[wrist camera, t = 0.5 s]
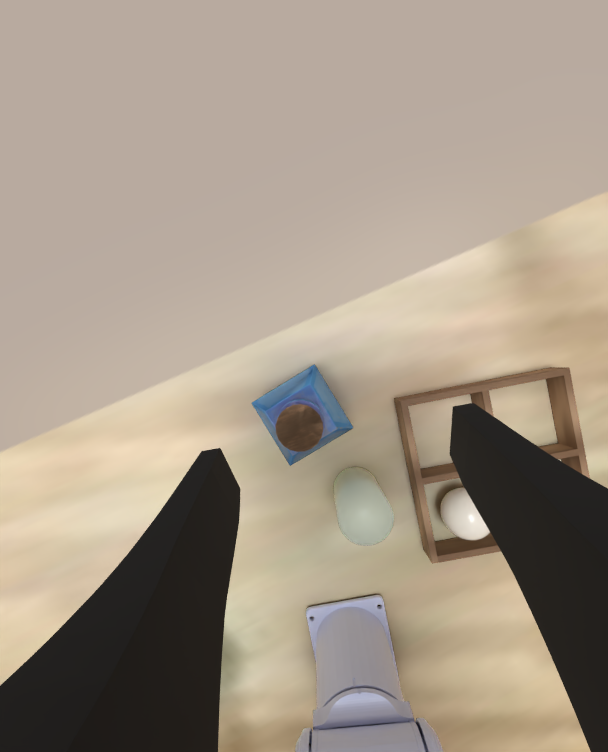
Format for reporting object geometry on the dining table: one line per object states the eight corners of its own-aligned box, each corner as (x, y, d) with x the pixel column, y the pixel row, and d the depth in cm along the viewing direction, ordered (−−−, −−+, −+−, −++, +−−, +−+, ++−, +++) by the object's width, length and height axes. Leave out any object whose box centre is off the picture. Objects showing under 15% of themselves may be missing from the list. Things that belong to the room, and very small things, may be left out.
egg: (482, 521, 33) (509, 545, 29) (437, 529, 33) (457, 555, 29) (474, 476, 33) (500, 494, 29) (429, 485, 33) (447, 504, 29)
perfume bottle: (314, 365, 33) (315, 363, 21) (345, 416, 33) (364, 444, 21) (262, 396, 34) (235, 412, 22) (294, 447, 34) (283, 492, 22)
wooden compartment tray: (579, 521, 33) (599, 533, 31) (423, 549, 34) (432, 563, 31) (550, 367, 33) (569, 367, 30) (393, 398, 33) (400, 400, 31)
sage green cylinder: (382, 506, 34) (398, 540, 27) (338, 515, 34) (343, 550, 27) (373, 463, 33) (387, 486, 27) (329, 471, 34) (333, 496, 27)
